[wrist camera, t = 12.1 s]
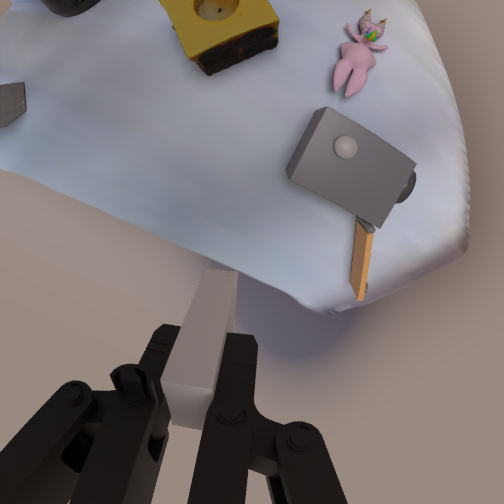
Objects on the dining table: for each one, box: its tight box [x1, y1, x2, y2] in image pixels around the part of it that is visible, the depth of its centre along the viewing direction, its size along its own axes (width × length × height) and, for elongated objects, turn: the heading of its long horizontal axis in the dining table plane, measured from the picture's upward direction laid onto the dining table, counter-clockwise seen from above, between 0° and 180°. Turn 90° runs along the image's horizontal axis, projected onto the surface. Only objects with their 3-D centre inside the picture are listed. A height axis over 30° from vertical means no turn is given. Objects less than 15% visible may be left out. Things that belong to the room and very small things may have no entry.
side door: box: [350, 215, 375, 301], centre depth 37 cm, size 11×2×5 cm, turn 3°
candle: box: [159, 0, 279, 76], centre depth 24 cm, size 10×10×10 cm
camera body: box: [286, 106, 417, 229], centre depth 31 cm, size 14×9×9 cm, turn 66°
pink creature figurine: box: [333, 9, 388, 97], centre depth 26 cm, size 6×6×15 cm
